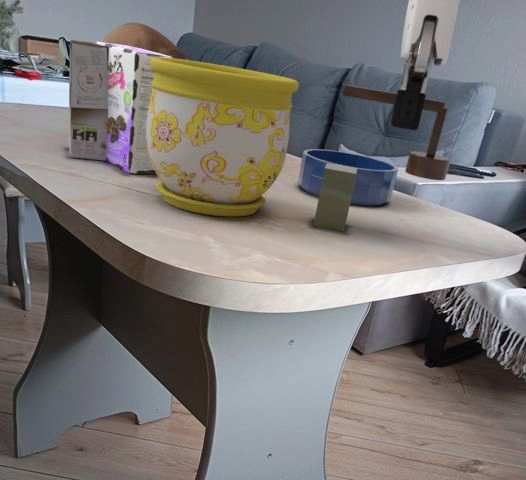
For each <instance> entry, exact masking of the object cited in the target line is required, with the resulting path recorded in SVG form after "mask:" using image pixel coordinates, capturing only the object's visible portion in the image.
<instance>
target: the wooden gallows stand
mask: <svg viewBox="0 0 526 480" xmlns="http://www.w3.org/2000/svg"><path fill="white" fill-rule="evenodd" d="M397 95H398V94H397V92H391V91H386V90H385V91H384V90H379V89H373V88H368V87H363V86H358V85H357V86H356V85H351V84H344V85H343V91H342V96H344V97H350V98H356V99H360V100H366V101H371V102H378V103H383V104H388V105H393V106H394V105H395V104H396V99H397ZM445 104H446V102H445V101H441V100H437V99H429V98H425V101H424V105H423V110H422V111H426V112H427V111H428V112H434V113H436V115H435V119H434V122H433V127H432V129H431V134H430V138H429V141H428V145H427V149H426V152H425V151H415V150H412V151H410V152H409V155H408V157H407V158H408V159H407V163H406V166H405V171H404V172H405V173H406V174H408V175H410V176H414V177H417V178H421V179H426V180H431V181H446V178H447V176H448V175H447V174H448V171H449V168H450V164H451V159H450V158H449V157H446V156H443V155H439V154H437V150H438V147H439V146H438V145H439V142H440V139H441V136H442V135H441V134H442V131H443V128H444V124H445V122H446V121H445V120H446V116H447V113H448V111H449V110H448V108H447V107H445Z"/></svg>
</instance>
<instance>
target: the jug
mask: <svg viewBox="0 0 526 480" xmlns="http://www.w3.org/2000/svg"><path fill="white" fill-rule="evenodd" d="M101 42H105V43H112V44H120V45H126V46H131V47H136V48H140V49H144V50H148V51H152V52H156V53H160V54H164V55H167V56H171V57H172V58H175V59H183V60H190V59H189V57H188V56H187V54H185V53H184V52H183V51H181V50H180V49H179V47H178V46H176V44H174V42H172V41H171V40H170V39H169V38H168V37H166V36H165V35H164V34H162V33H161V32H160V31H158V30H157V29H154V28H153V27H151V26H149V25H147V24H144V23H140V22H127V23H123V24H121V25H118V26H117V27H115V28H113V30H111V31H110V32H109V33H108V34H107V35H106V36H105V37H104V38H103V39H102V40H101Z"/></svg>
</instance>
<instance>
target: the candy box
mask: <svg viewBox="0 0 526 480" xmlns="http://www.w3.org/2000/svg"><path fill="white" fill-rule="evenodd" d="M96 43H97V44H99V45H103V46H106V47H109V56H108V127H107V140H106V160H107V161H106V162H109V163H111V164H112V165H114V166H116V168H117V167H118V168H119V169H121V170H123V171H124V172H126V173H128V174H138V175H139V174H140V175H141V174H142V175H144V174H145V175H157V173H156V172H155V170H154V168H153V165H152V163H151V160H150V157H149V154H148V149H147V141H146V127H147V116H148V109H149V104H150V100H151V95H152V86H151V82H152V81H153V79H154V70H153V69H152V68H151V67H150V59H151V58H152V57H166V58H172V57H171V56H167V55H164V54H160V53H156V52H152V51H148V50H144V49H140V48H136V47H131V46H126V45H120V44H112V43H105V42H102V41H96Z"/></svg>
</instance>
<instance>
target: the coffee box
mask: <svg viewBox="0 0 526 480" xmlns="http://www.w3.org/2000/svg"><path fill="white" fill-rule="evenodd" d="M108 56H109V47H106V46H103V45H99V44H97V42H90V41H82V40H76V39H70V40H69V76H68V77H69V78H68V79H69V80H68V151H69V157H70V158H74V159H84V160H95V161H103V162H105V161H106V162H108V161H107V160H106V140H107V127H108Z"/></svg>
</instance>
